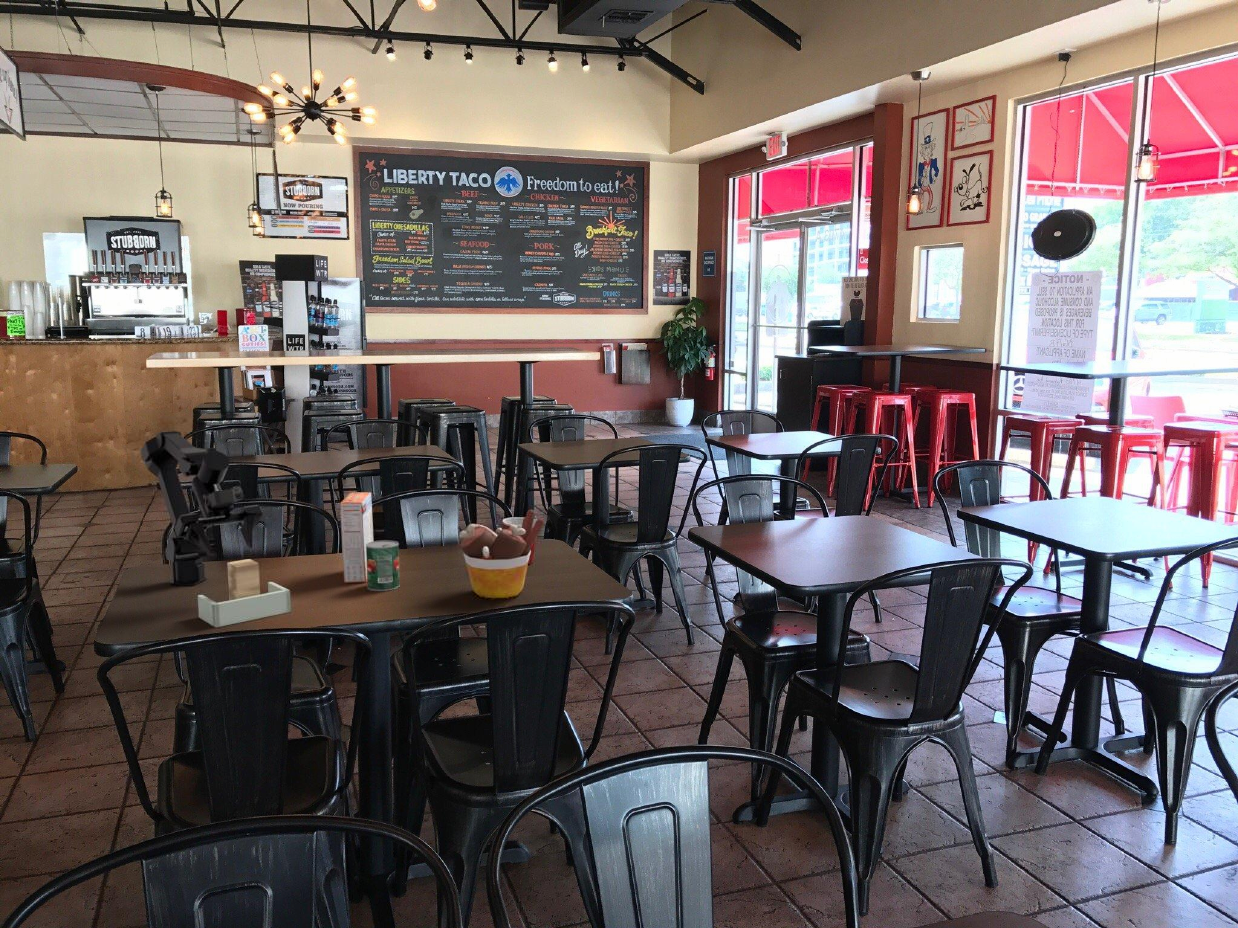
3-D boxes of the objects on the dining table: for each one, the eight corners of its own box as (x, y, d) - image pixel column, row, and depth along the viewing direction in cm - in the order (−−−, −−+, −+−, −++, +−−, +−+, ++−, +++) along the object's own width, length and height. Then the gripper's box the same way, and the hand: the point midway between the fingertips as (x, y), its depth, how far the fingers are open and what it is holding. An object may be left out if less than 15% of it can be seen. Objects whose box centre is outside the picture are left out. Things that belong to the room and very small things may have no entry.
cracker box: (352, 569, 259) (349, 491, 255) (375, 568, 259) (372, 491, 256) (341, 583, 245) (338, 501, 242) (366, 583, 245) (363, 501, 242)
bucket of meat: (472, 607, 225) (470, 523, 222) (450, 589, 240) (448, 510, 237) (551, 596, 234) (551, 515, 231) (525, 579, 249) (525, 503, 246)
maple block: (230, 614, 219) (227, 562, 217) (252, 609, 222) (249, 558, 221) (239, 619, 215) (236, 566, 214) (261, 614, 219) (258, 563, 217)
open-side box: (198, 617, 217) (197, 595, 216) (273, 602, 228) (272, 581, 228) (215, 627, 210) (214, 605, 209) (291, 611, 221) (290, 590, 220)
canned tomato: (361, 587, 242) (359, 543, 240) (388, 580, 247) (386, 538, 246) (379, 593, 236) (377, 549, 235) (406, 586, 242) (405, 543, 240)
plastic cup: (540, 568, 260) (540, 524, 258) (500, 568, 260) (499, 524, 259) (544, 558, 271) (544, 516, 269) (505, 558, 271) (505, 515, 269)
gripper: (176, 480, 217) (198, 537, 211) (258, 471, 230) (280, 525, 224) (166, 508, 224) (186, 565, 218) (245, 498, 237) (267, 551, 231)
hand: (231, 550), depth 223 cm, fingers open, 9 cm apart
